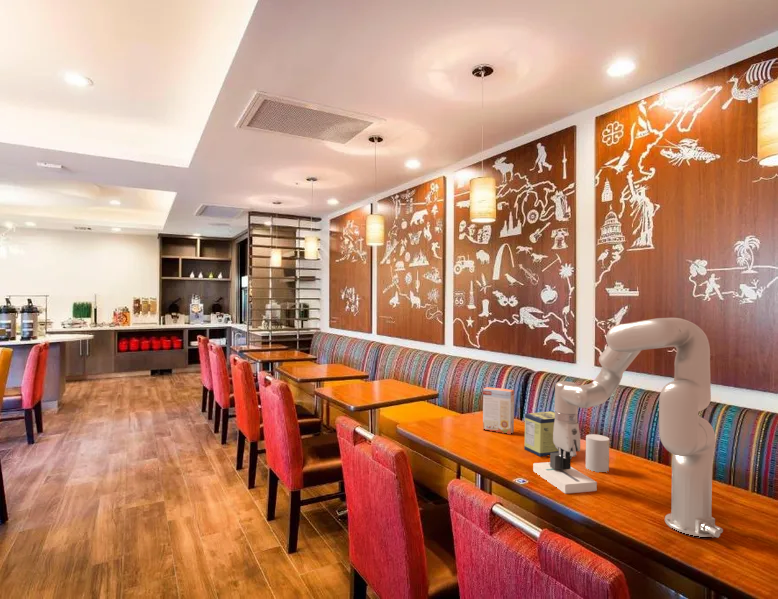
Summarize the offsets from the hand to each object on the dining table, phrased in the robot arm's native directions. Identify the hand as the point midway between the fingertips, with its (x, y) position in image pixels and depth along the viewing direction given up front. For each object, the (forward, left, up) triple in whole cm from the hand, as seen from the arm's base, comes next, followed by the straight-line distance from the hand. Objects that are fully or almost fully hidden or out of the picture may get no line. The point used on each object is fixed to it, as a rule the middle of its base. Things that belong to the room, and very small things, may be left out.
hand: (565, 468), depth 160 cm
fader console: (+1, 0, -5) cm, 5 cm away
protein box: (+31, -12, -5) cm, 34 cm away
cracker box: (+62, -5, -5) cm, 63 cm away
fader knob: (+4, 0, -1) cm, 4 cm away
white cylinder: (+9, -20, -5) cm, 23 cm away
